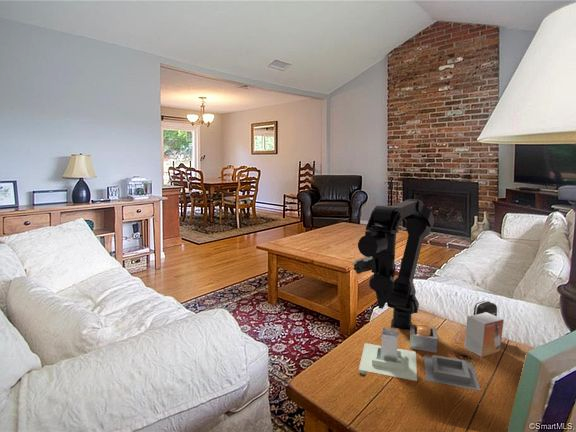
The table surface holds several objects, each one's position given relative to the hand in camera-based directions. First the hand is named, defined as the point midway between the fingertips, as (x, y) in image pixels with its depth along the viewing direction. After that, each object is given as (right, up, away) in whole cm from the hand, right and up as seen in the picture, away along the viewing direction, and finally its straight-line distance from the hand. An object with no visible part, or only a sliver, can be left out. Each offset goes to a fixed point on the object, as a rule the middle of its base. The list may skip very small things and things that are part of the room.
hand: (381, 302), depth 102 cm
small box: (+28, -14, -2) cm, 31 cm away
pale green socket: (0, -14, -8) cm, 17 cm away
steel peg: (0, -13, -8) cm, 16 cm away
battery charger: (+33, -13, +6) cm, 36 cm away
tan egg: (+12, -12, 0) cm, 17 cm away
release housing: (+12, -13, 0) cm, 18 cm away
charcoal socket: (+14, -15, -13) cm, 24 cm away
